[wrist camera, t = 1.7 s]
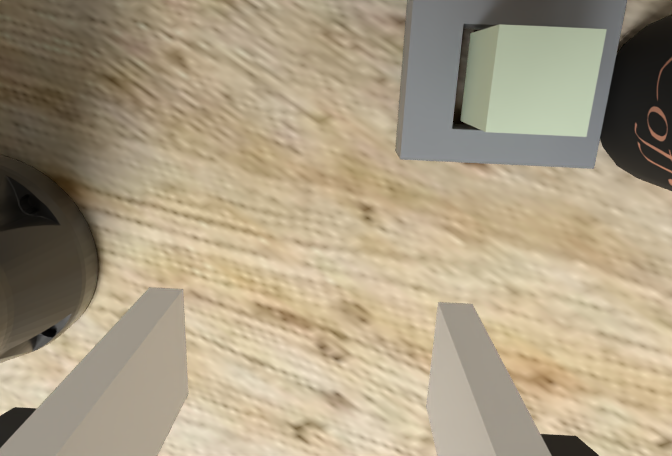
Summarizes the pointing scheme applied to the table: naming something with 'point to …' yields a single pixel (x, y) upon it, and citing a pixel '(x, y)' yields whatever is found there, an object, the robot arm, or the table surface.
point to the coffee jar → (642, 106)
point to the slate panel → (442, 73)
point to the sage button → (532, 79)
